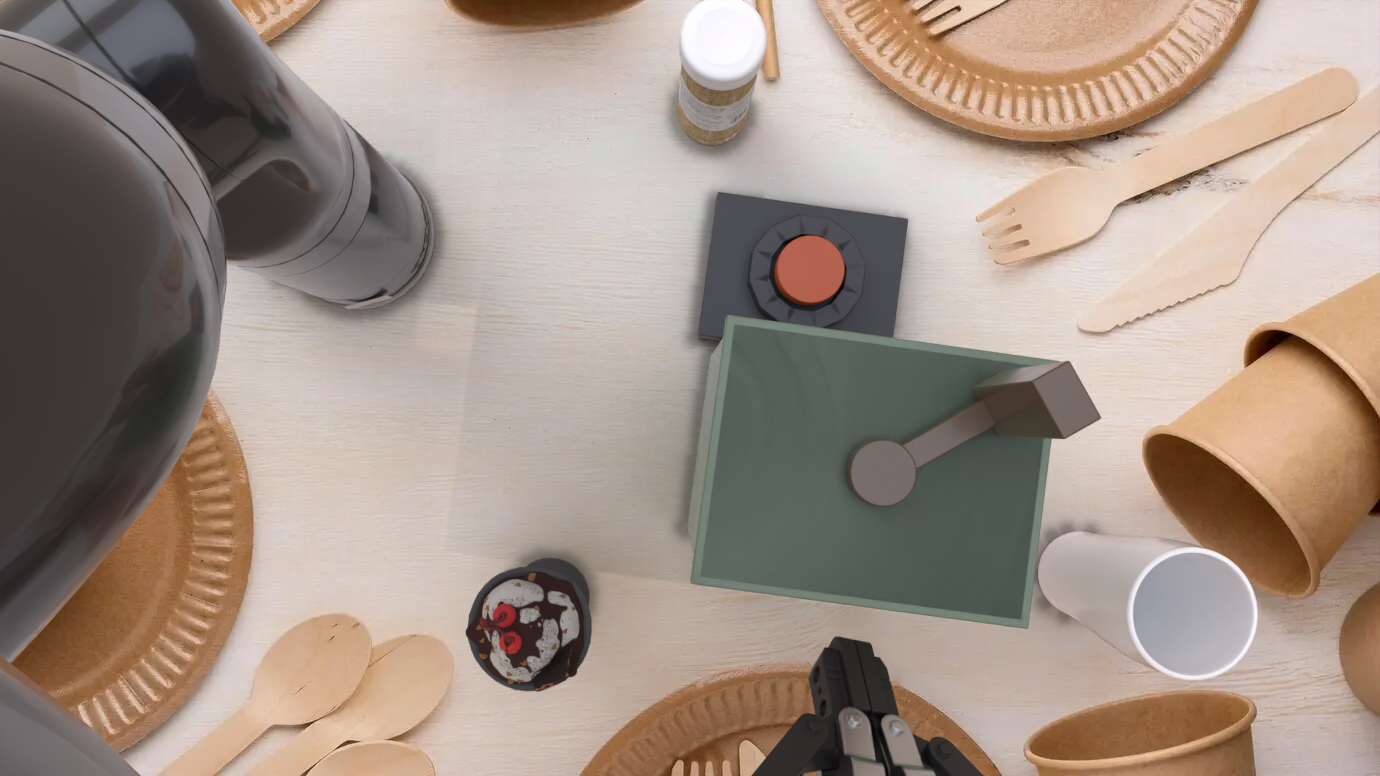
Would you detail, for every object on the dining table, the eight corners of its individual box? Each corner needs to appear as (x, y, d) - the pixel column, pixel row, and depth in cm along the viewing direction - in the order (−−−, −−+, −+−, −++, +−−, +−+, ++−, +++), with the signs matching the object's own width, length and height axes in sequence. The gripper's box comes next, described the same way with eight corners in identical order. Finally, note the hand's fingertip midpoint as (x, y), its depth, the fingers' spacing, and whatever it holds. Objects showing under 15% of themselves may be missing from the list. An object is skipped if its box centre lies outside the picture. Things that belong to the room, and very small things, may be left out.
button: (769, 301, 64) (772, 297, 62) (778, 236, 64) (781, 230, 62) (835, 310, 64) (840, 307, 62) (843, 245, 64) (848, 240, 62)
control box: (696, 337, 67) (699, 332, 63) (715, 199, 68) (719, 184, 64) (882, 363, 67) (896, 359, 63) (900, 225, 68) (915, 212, 64)
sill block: (681, 531, 67) (690, 584, 45) (706, 350, 67) (727, 314, 45) (909, 562, 67) (1028, 629, 45) (932, 381, 67) (1062, 361, 45)
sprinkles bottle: (717, 63, 68) (730, -26, 54) (762, 117, 68) (786, 42, 54) (662, 107, 68) (661, 29, 54) (707, 162, 68) (717, 97, 54)
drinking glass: (1054, 644, 67) (1166, 707, 52) (1004, 549, 67) (1102, 585, 52) (1147, 594, 67) (1285, 643, 52) (1097, 500, 67) (1220, 521, 52)
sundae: (497, 543, 66) (449, 578, 51) (604, 546, 67) (587, 582, 52) (493, 648, 66) (444, 714, 51) (600, 651, 66) (582, 718, 51)
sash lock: (866, 516, 45) (906, 535, 37) (833, 459, 45) (868, 466, 37) (1032, 423, 45) (1105, 423, 38) (1000, 366, 45) (1067, 354, 38)
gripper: (1233, 1109, 28) (1029, 620, 42) (778, 1067, 25) (721, 555, 39) (1087, 1210, 32) (945, 732, 46) (679, 1185, 29) (659, 682, 43)
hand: (842, 652), depth 43 cm, fingers closed
